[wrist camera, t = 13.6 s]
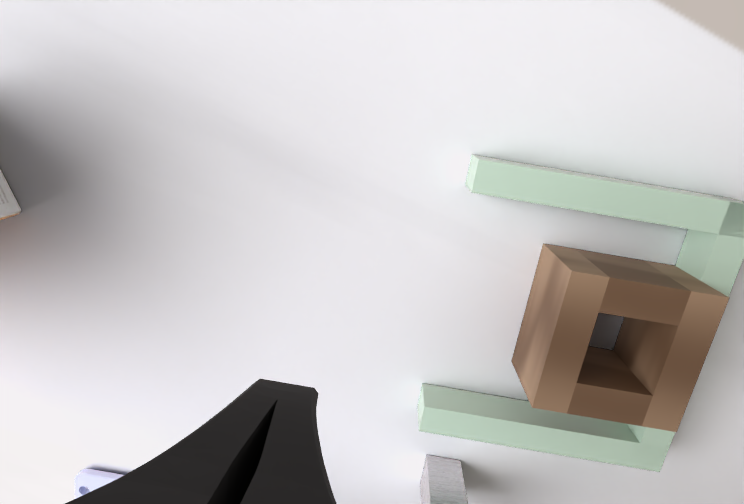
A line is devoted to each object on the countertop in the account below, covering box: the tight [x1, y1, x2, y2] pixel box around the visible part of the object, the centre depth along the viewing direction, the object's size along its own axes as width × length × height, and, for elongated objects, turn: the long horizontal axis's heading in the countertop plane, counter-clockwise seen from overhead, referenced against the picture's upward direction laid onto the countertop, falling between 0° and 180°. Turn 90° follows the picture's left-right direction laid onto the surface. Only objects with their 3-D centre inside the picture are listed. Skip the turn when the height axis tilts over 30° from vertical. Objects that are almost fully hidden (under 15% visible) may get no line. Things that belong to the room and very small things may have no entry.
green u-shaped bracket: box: [417, 155, 744, 472], centre depth 20 cm, size 11×10×2 cm
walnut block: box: [512, 244, 729, 432], centre depth 19 cm, size 5×5×4 cm
